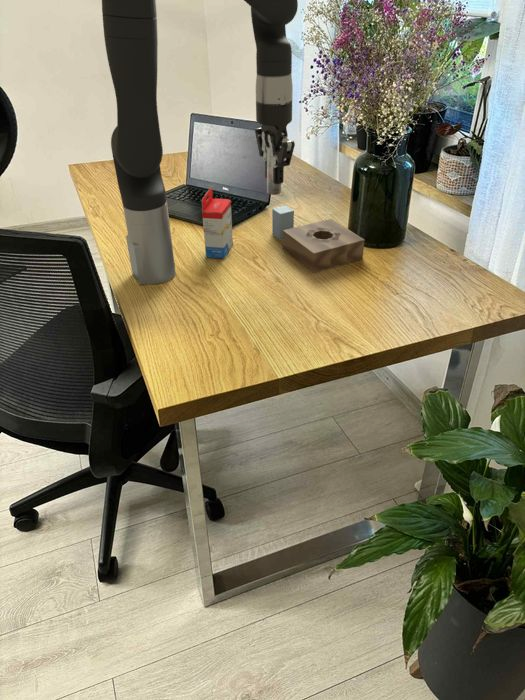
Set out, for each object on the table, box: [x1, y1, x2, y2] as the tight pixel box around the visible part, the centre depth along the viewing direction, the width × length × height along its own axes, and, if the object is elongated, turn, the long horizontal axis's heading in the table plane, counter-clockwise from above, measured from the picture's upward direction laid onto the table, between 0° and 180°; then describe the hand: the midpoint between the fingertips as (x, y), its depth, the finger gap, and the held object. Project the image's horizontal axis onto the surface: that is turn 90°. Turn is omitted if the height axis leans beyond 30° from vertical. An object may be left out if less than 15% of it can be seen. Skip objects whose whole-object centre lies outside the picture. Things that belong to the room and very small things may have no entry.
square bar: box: [271, 205, 295, 241], centre depth 139 cm, size 4×4×7 cm
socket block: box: [282, 218, 365, 274], centre depth 131 cm, size 14×14×5 cm
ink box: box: [201, 186, 234, 259], centre depth 130 cm, size 8×5×15 cm, turn 168°
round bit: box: [266, 146, 282, 196], centre depth 120 cm, size 3×3×10 cm
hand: (274, 180), depth 122 cm, fingers closed on round bit, 3 cm apart
